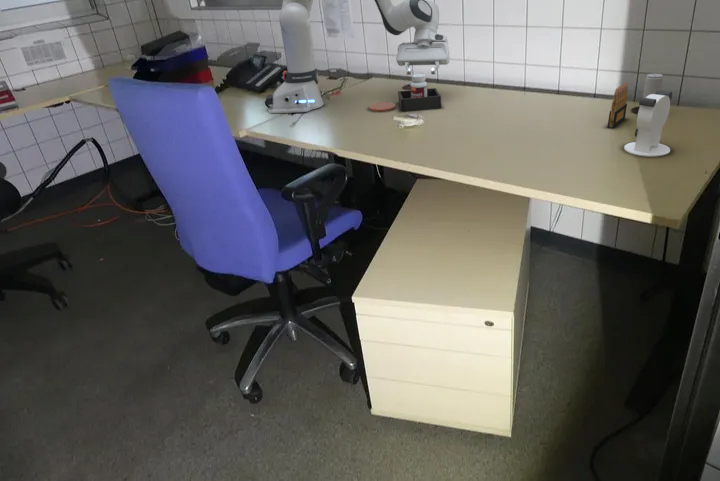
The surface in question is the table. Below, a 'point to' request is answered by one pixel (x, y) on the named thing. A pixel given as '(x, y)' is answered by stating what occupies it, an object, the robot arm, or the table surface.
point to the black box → (419, 100)
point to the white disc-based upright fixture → (651, 125)
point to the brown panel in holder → (618, 106)
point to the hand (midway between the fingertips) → (420, 73)
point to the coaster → (382, 107)
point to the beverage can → (652, 84)
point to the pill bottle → (418, 86)
